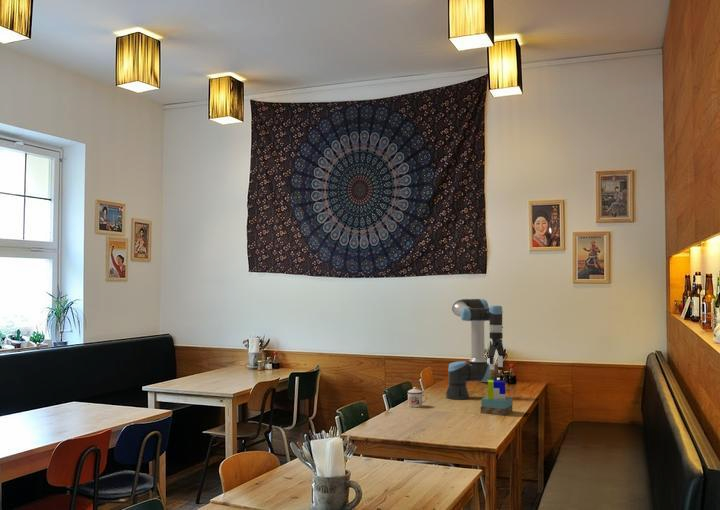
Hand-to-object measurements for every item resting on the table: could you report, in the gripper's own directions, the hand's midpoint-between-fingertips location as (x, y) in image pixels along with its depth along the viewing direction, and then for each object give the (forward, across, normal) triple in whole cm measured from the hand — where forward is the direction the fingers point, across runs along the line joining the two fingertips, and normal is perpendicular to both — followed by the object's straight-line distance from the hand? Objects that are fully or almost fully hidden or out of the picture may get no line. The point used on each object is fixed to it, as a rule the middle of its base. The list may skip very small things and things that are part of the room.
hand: (496, 368), depth 389 cm
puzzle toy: (+18, 0, 0) cm, 18 cm away
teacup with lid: (+26, -8, +48) cm, 55 cm away
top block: (+22, 0, 0) cm, 22 cm away
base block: (+26, 0, 0) cm, 26 cm away
